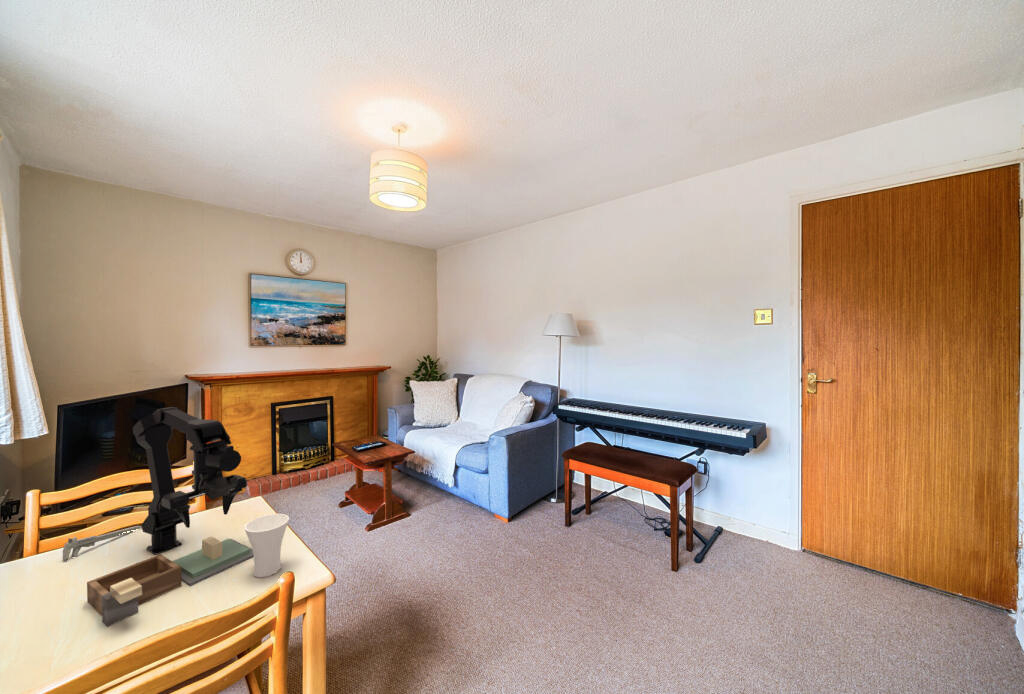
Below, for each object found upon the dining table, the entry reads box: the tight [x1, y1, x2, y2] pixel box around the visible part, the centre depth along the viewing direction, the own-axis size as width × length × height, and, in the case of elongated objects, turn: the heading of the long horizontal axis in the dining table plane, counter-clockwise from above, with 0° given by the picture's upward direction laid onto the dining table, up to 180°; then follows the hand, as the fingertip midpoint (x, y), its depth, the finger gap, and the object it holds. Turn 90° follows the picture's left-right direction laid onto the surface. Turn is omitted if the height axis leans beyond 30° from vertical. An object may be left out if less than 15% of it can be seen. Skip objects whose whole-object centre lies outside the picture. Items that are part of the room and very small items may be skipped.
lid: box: [172, 536, 250, 578], centre depth 112 cm, size 12×14×5 cm
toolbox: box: [86, 553, 183, 627], centre depth 96 cm, size 15×15×6 cm
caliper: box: [62, 525, 142, 562], centre depth 121 cm, size 20×1×6 cm, turn 171°
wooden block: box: [110, 578, 142, 604], centre depth 88 cm, size 6×4×2 cm, turn 61°
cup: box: [243, 513, 290, 578], centre depth 107 cm, size 10×10×14 cm
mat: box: [181, 538, 254, 587], centre depth 112 cm, size 16×17×1 cm
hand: (207, 520), depth 111 cm, fingers open, 9 cm apart
